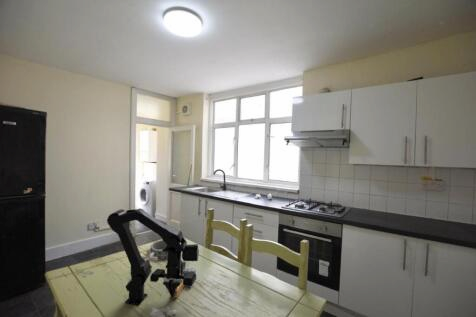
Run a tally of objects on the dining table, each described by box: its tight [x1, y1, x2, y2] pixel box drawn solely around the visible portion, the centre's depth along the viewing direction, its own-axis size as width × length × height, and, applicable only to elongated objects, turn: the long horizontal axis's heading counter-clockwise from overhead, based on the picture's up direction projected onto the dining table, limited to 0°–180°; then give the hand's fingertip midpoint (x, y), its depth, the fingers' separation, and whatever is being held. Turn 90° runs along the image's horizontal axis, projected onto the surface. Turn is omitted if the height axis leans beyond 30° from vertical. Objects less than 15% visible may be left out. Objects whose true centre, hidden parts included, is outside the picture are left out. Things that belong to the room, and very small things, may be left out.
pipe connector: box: [141, 247, 158, 264], centre depth 118 cm, size 10×10×10 cm
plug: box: [173, 272, 187, 299], centre depth 102 cm, size 16×4×4 cm, turn 174°
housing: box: [174, 267, 197, 288], centre depth 105 cm, size 6×10×6 cm, turn 83°
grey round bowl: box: [149, 239, 167, 260], centre depth 136 cm, size 18×18×5 cm
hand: (173, 296), depth 93 cm, fingers closed, pressing on plug
